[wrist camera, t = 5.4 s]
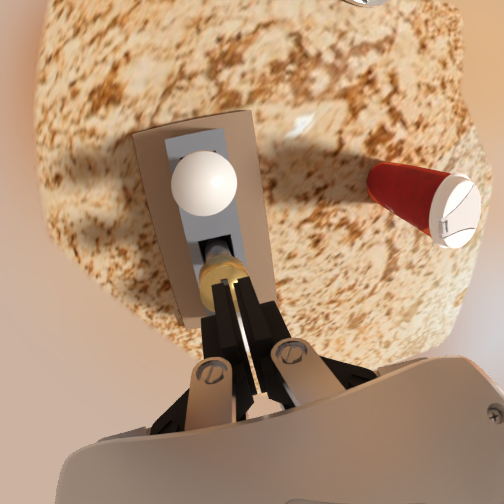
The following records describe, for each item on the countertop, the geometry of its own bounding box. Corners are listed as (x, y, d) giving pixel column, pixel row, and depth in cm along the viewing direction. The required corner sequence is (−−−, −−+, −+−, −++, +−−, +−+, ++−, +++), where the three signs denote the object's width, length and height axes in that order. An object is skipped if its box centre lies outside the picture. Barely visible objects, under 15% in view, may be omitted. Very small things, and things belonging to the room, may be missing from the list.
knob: (173, 151, 26) (165, 159, 17) (218, 141, 26) (231, 146, 18) (182, 194, 28) (178, 222, 19) (226, 185, 28) (241, 208, 20)
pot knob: (192, 229, 29) (194, 276, 20) (230, 221, 30) (249, 264, 21) (200, 264, 31) (206, 320, 22) (236, 256, 31) (257, 309, 22)
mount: (134, 133, 28) (119, 134, 22) (249, 110, 30) (264, 105, 23) (186, 325, 39) (187, 360, 33) (276, 305, 41) (291, 336, 34)
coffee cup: (367, 220, 38) (440, 266, 25) (352, 165, 35) (434, 192, 21) (409, 197, 38) (484, 232, 25) (398, 145, 35) (482, 165, 21)
